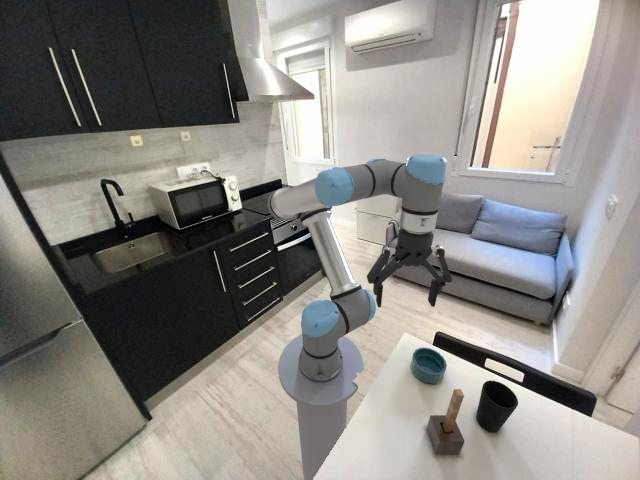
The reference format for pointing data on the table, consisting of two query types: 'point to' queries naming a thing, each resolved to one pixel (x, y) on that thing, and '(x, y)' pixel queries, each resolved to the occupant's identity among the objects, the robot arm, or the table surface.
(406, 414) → the table surface
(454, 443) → the holder
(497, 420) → the cup
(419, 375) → the bowl
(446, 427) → the stick
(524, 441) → the table surface
